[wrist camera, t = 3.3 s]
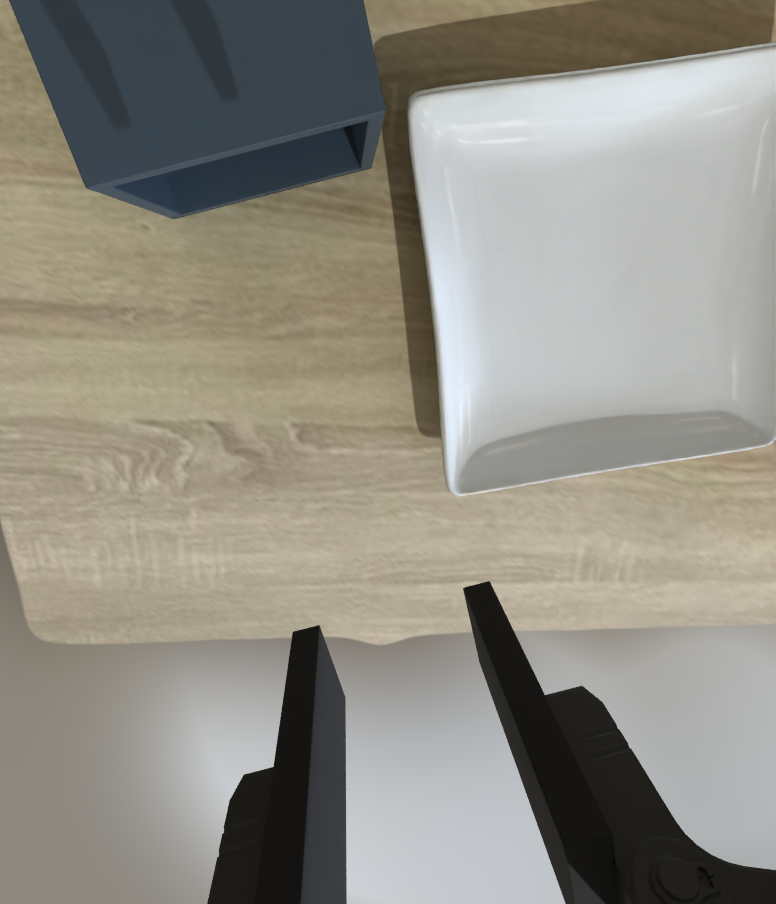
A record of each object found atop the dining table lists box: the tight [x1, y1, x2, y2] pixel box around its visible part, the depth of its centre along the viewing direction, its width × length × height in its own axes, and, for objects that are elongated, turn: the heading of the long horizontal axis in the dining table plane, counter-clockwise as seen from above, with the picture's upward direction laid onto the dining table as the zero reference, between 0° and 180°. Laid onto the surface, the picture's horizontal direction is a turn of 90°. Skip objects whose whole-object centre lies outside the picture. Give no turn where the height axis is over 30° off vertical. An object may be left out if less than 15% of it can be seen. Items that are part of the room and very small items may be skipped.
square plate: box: [407, 42, 776, 496], centre depth 35 cm, size 27×27×4 cm
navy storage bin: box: [9, 0, 386, 219], centre depth 26 cm, size 9×14×12 cm, turn 104°
